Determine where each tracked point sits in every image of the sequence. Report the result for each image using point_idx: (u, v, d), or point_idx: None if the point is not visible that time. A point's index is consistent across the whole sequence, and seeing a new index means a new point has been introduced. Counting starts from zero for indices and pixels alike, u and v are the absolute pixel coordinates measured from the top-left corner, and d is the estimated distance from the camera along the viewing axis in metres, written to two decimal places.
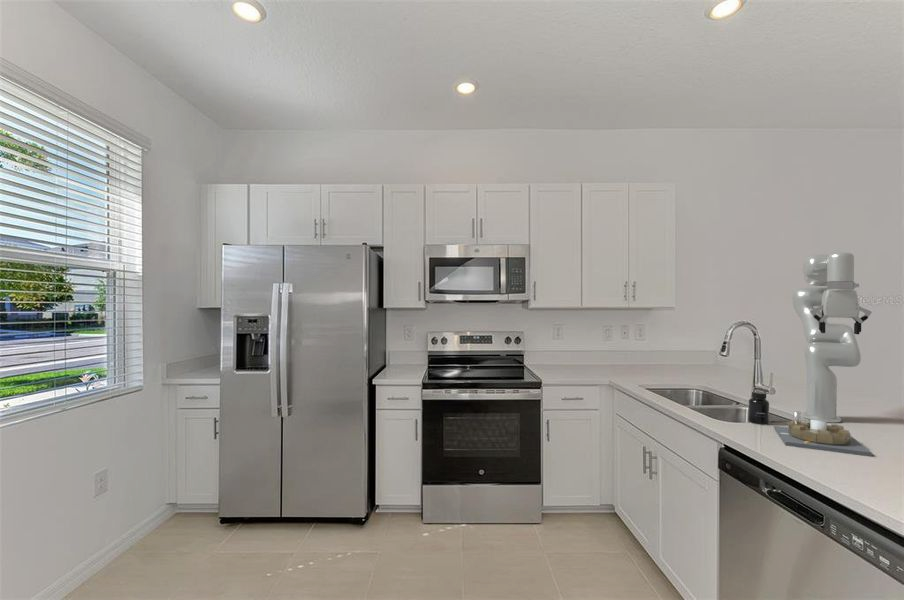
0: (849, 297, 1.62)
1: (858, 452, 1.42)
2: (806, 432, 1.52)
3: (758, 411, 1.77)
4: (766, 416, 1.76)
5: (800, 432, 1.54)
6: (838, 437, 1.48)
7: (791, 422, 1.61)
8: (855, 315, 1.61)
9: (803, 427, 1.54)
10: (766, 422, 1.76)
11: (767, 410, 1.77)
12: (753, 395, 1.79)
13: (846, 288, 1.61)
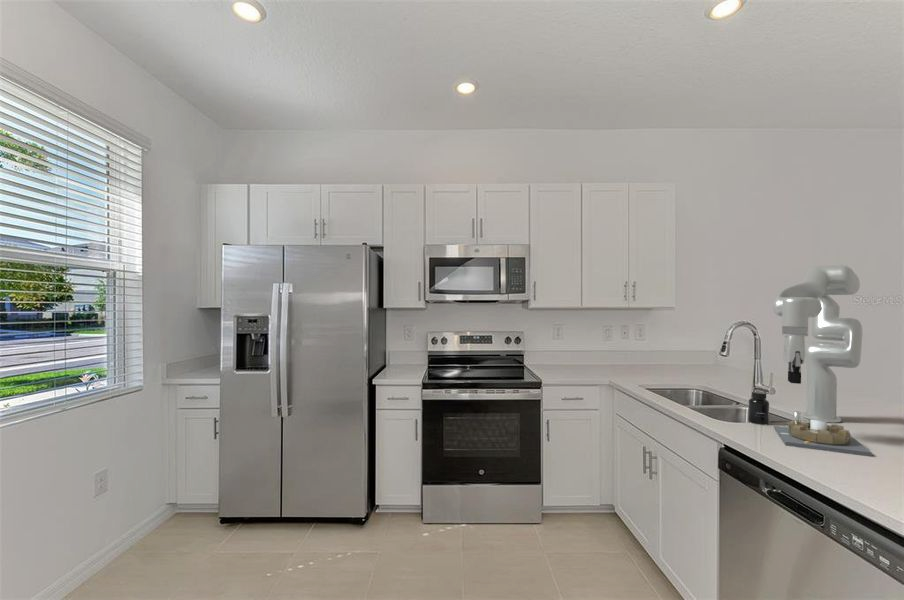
0: None
1: (858, 452, 1.42)
2: (806, 432, 1.52)
3: (758, 411, 1.77)
4: (766, 416, 1.76)
5: (800, 432, 1.54)
6: (838, 437, 1.48)
7: (791, 422, 1.61)
8: None
9: (803, 427, 1.54)
10: (766, 422, 1.76)
11: (767, 410, 1.77)
12: (753, 395, 1.79)
13: None
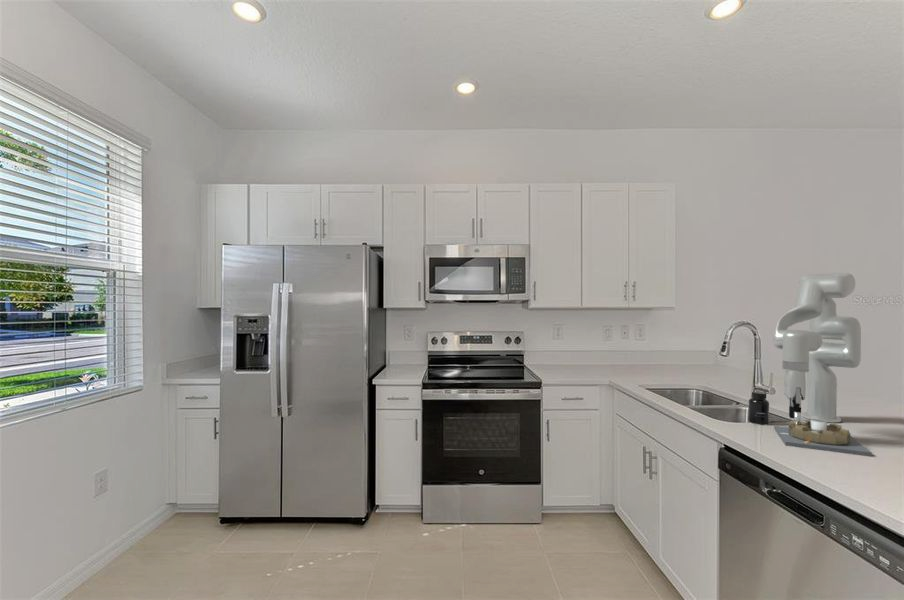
0: None
1: (858, 452, 1.42)
2: (809, 433, 1.51)
3: (758, 411, 1.77)
4: (766, 416, 1.76)
5: (803, 433, 1.53)
6: (840, 437, 1.48)
7: (791, 422, 1.61)
8: None
9: (805, 428, 1.54)
10: (766, 422, 1.76)
11: (767, 410, 1.77)
12: (753, 395, 1.79)
13: None
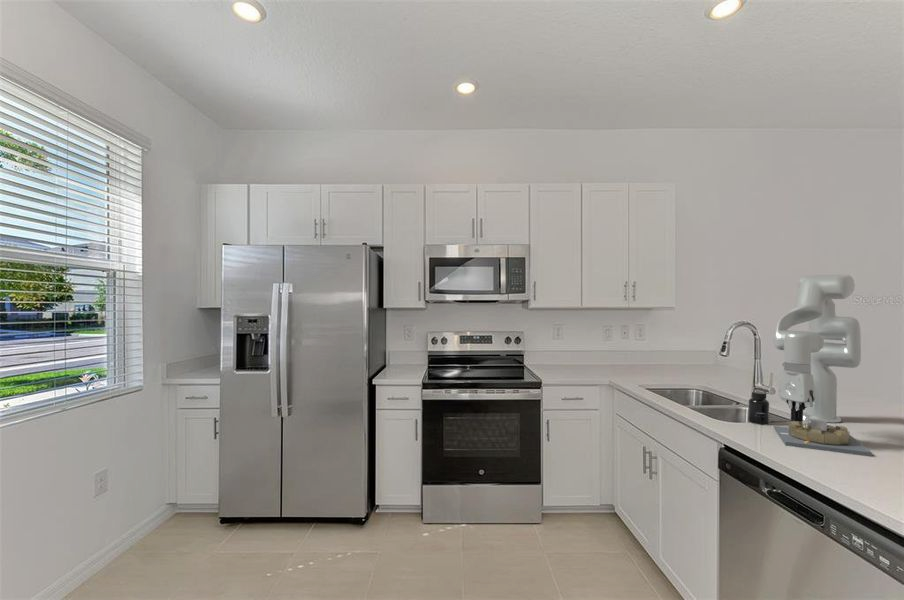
0: None
1: (858, 452, 1.42)
2: (829, 436, 1.48)
3: (758, 411, 1.77)
4: (766, 416, 1.76)
5: (823, 437, 1.49)
6: (849, 435, 1.50)
7: (795, 426, 1.56)
8: None
9: None
10: (766, 422, 1.76)
11: (767, 410, 1.77)
12: (753, 395, 1.79)
13: None
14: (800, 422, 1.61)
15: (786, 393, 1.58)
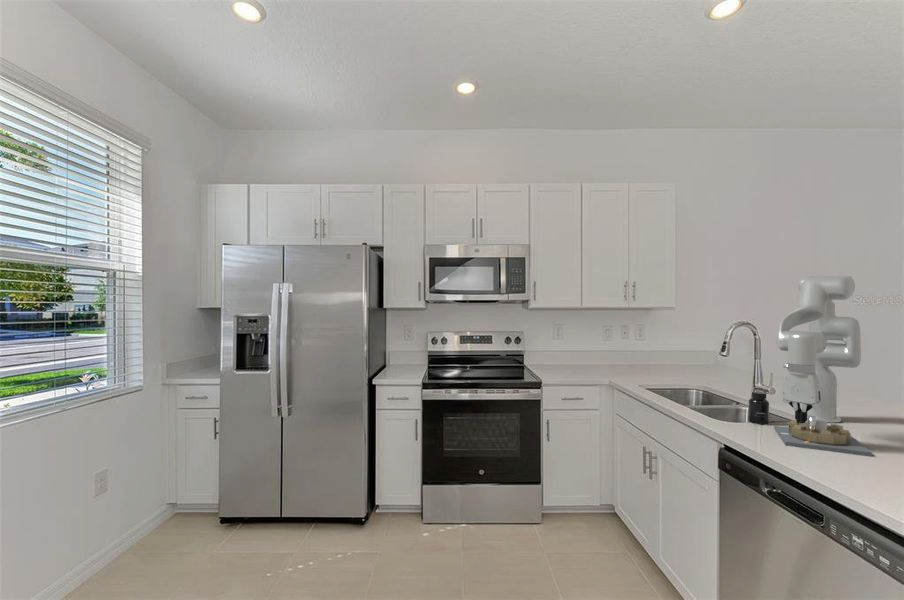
0: None
1: (858, 452, 1.42)
2: (838, 436, 1.48)
3: (758, 411, 1.77)
4: (766, 416, 1.76)
5: (833, 438, 1.48)
6: None
7: (801, 428, 1.54)
8: None
9: None
10: (766, 422, 1.76)
11: (767, 410, 1.77)
12: (753, 395, 1.79)
13: None
14: (797, 423, 1.60)
15: (792, 395, 1.55)
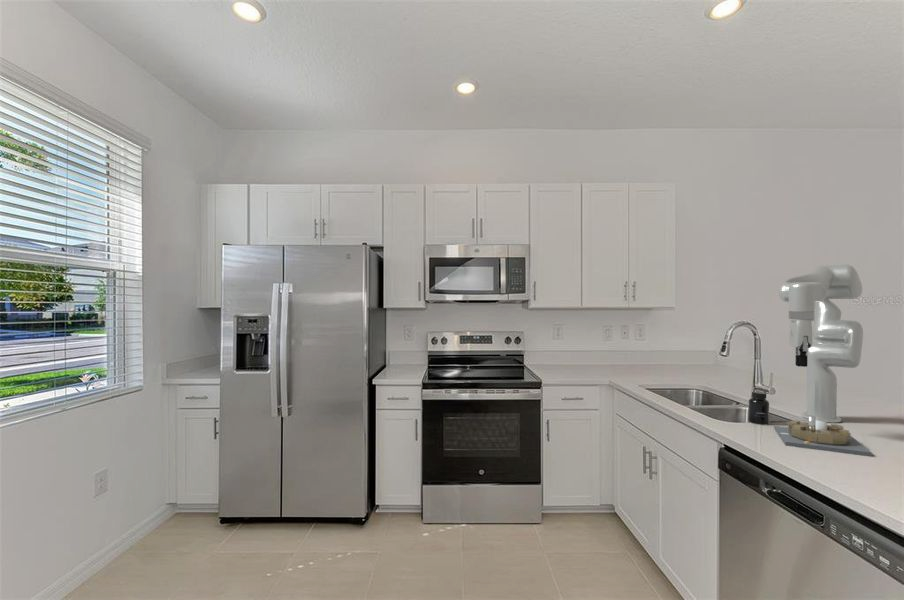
0: None
1: (858, 452, 1.42)
2: (837, 436, 1.48)
3: (758, 411, 1.77)
4: (766, 416, 1.76)
5: (832, 438, 1.48)
6: None
7: (801, 428, 1.54)
8: None
9: None
10: (766, 422, 1.76)
11: (767, 410, 1.77)
12: (753, 395, 1.79)
13: None
14: (798, 423, 1.60)
15: (791, 340, 1.68)
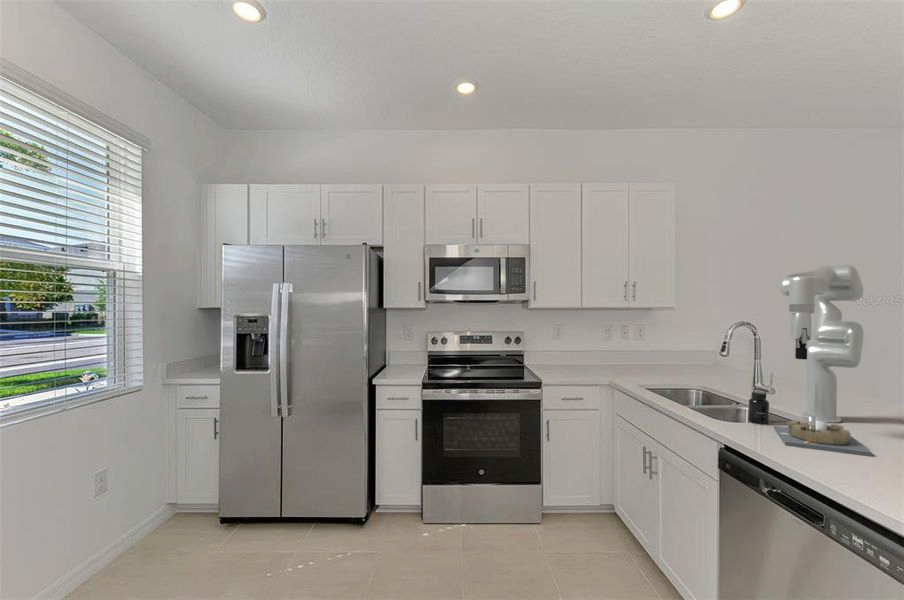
0: None
1: (858, 452, 1.42)
2: (837, 436, 1.48)
3: (758, 411, 1.77)
4: (766, 416, 1.76)
5: (832, 438, 1.48)
6: None
7: (801, 428, 1.54)
8: None
9: None
10: (766, 422, 1.76)
11: (767, 410, 1.77)
12: (753, 395, 1.79)
13: None
14: (798, 423, 1.60)
15: (791, 333, 1.70)
